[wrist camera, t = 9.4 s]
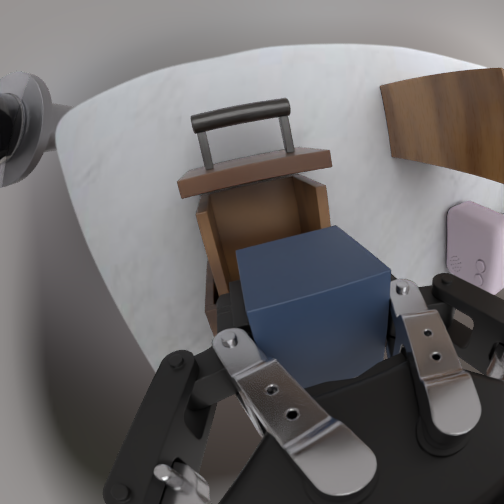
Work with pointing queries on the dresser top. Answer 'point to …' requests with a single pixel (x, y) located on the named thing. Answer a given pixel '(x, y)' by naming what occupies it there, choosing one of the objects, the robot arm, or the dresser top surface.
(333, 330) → the block
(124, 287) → the dresser top surface
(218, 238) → the drawer
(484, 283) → the electronic device
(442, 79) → the stand
